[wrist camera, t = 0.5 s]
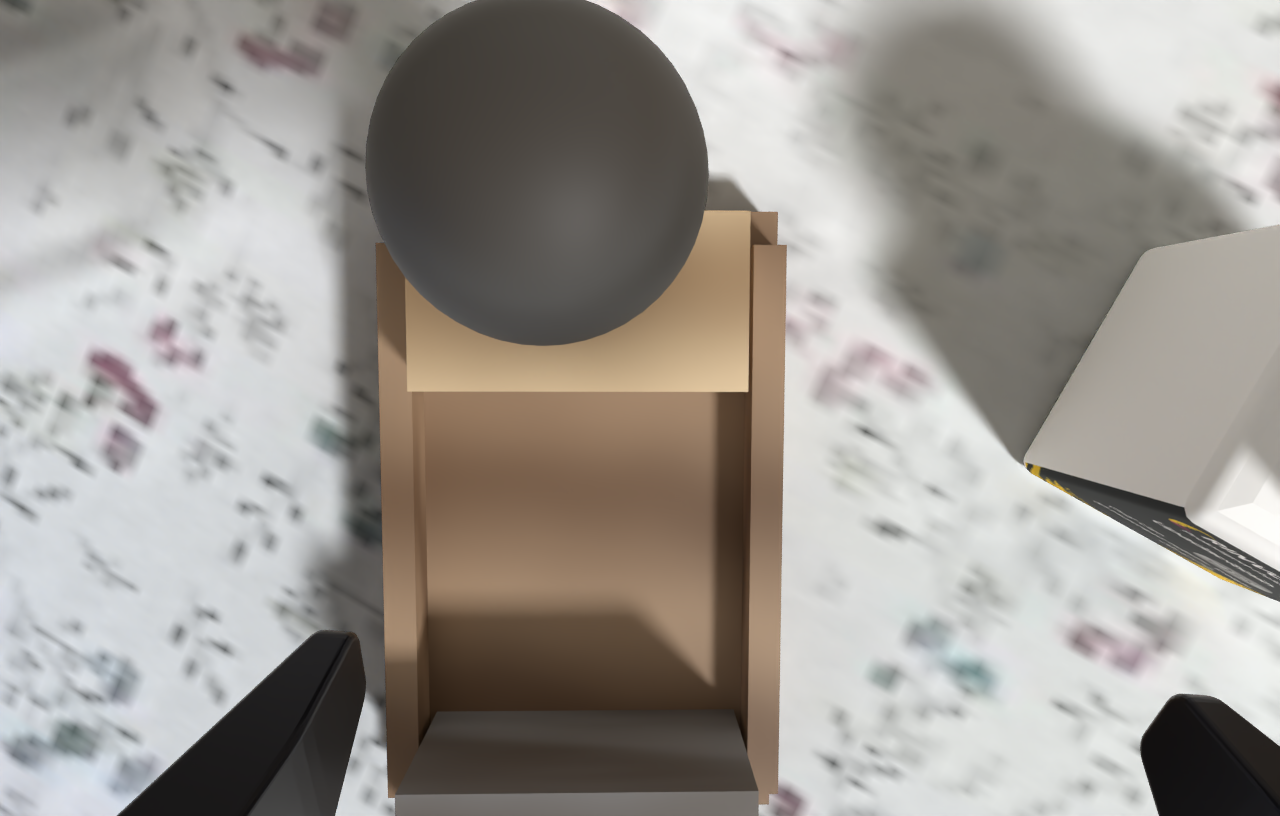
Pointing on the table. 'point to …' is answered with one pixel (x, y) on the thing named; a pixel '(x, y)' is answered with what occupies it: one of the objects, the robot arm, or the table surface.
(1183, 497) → the medicine bottle
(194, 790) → the robot arm
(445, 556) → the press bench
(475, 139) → the press handle
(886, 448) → the table surface
